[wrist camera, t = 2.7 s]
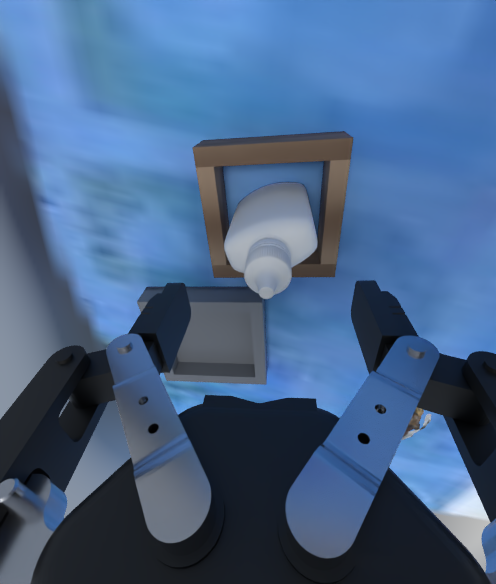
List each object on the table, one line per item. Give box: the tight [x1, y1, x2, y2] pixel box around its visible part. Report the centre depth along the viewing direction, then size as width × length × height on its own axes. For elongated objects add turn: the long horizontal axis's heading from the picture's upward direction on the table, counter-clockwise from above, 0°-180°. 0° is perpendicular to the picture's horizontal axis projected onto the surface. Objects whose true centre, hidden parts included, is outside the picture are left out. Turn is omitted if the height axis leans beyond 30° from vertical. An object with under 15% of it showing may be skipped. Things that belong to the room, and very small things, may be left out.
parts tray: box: [137, 287, 267, 384], centre depth 31 cm, size 12×12×2 cm
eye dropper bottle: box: [224, 182, 318, 299], centre depth 18 cm, size 4×6×12 cm
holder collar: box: [193, 131, 353, 278], centre depth 21 cm, size 10×10×3 cm
